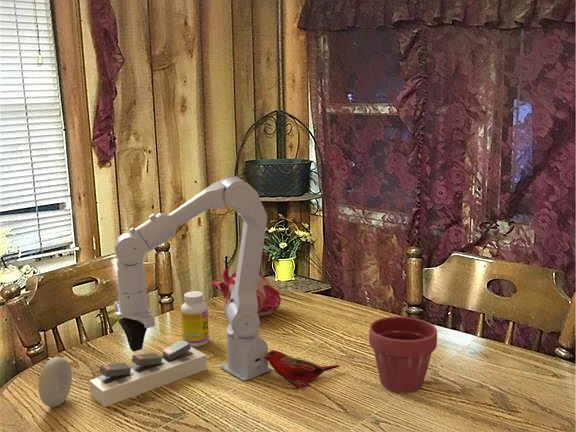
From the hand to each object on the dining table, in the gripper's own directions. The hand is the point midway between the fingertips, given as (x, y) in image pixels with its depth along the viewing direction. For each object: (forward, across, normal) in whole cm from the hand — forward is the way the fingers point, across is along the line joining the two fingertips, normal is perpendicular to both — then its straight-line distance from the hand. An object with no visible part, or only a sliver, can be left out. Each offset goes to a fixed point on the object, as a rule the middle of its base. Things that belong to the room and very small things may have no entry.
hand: (136, 349), depth 135 cm
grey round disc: (+8, -3, -17) cm, 19 cm away
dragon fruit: (+8, -17, +42) cm, 46 cm away
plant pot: (+8, +39, +42) cm, 58 cm away
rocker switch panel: (+8, +1, +2) cm, 8 cm away
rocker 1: (+3, 0, -5) cm, 6 cm away
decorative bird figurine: (+8, +27, +26) cm, 38 cm away
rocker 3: (+3, 0, +10) cm, 10 cm away
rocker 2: (+3, 0, +2) cm, 4 cm away
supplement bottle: (+8, -10, +21) cm, 25 cm away
